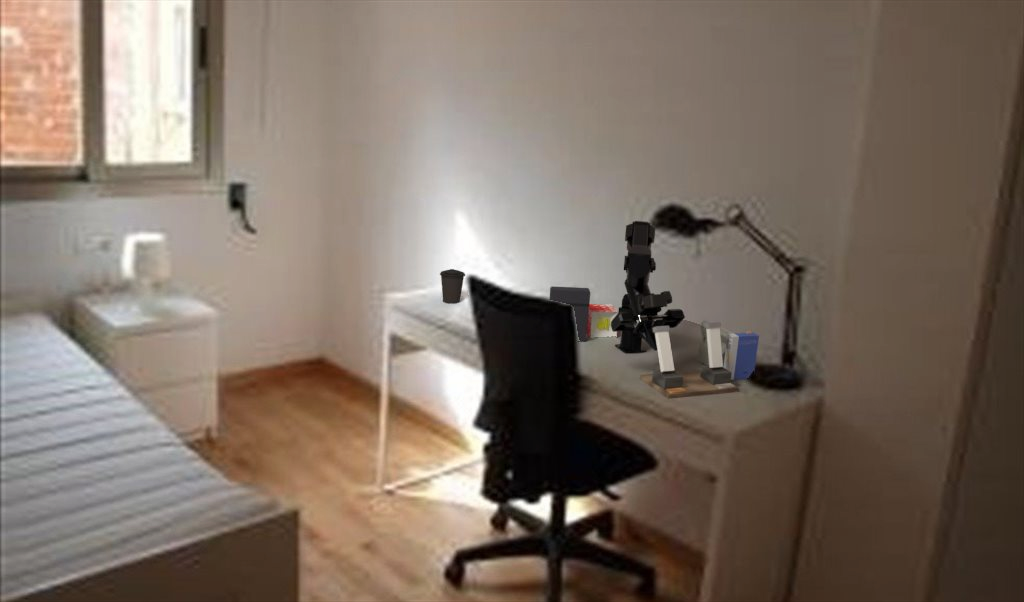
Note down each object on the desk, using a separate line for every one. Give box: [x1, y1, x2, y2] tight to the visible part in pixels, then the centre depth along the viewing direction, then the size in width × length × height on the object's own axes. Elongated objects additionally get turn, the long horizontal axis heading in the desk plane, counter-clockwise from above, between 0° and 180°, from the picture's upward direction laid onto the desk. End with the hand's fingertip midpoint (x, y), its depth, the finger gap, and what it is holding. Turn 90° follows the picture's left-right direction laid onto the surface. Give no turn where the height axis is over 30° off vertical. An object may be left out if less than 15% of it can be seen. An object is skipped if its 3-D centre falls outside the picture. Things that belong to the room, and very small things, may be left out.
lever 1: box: [653, 326, 675, 372], centre depth 235 cm, size 2×4×11 cm, turn 111°
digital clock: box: [698, 320, 733, 368], centre depth 254 cm, size 16×9×11 cm, turn 13°
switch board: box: [639, 365, 740, 399], centre depth 238 cm, size 14×20×4 cm
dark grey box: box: [548, 285, 591, 343], centre depth 268 cm, size 11×4×15 cm, turn 92°
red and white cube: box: [587, 303, 619, 339], centre depth 276 cm, size 8×8×8 cm
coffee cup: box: [439, 268, 466, 305], centre depth 300 cm, size 8×8×10 cm
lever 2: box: [704, 321, 723, 368], centre depth 240 cm, size 2×4×11 cm, turn 111°
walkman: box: [724, 331, 760, 380], centre depth 245 cm, size 8×3×12 cm, turn 107°
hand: (657, 349), depth 238 cm, fingers closed
